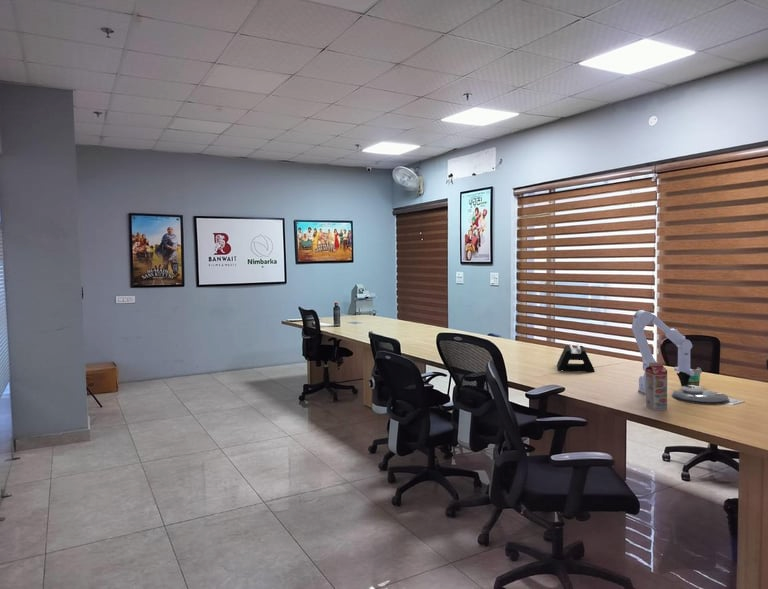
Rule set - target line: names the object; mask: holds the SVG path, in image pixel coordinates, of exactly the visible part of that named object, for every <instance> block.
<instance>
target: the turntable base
mask: <svg viewBox="0 0 768 589" xmlns="http://www.w3.org/2000/svg"><path fill="white" fill-rule="evenodd" d="M671 397H672V398H673V399H675V400H677V401H680V402H683V403H684V402H685V403H688V404H690V403H691V404H696V405H708V406H709V405H725V404H728V403H729V402H730V398H728V401H726V402H720V403H702V402H693V401H687V400H682V399H679V398H676V397H674V396H673V393H671Z"/></svg>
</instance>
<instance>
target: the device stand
mask: <svg viewBox="0 0 768 589" xmlns="http://www.w3.org/2000/svg"><path fill="white" fill-rule="evenodd" d="M570 361H582V362H583V363H571V362H570ZM558 370H563V371H562V372H573V371H586V372H585V373H595V372H596V371H595V367H594V366H593V363H592V362H591V360H590V358H589V355H588V354H587V352H586V350H585V347H584V346H583V345H580V344H578V343H576V347H573V345H572V343H569V345H565V346H564V348H563V350H562V352H561V354H560V356H559V359H558V361H557V371H558Z"/></svg>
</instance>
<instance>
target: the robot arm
mask: <svg viewBox="0 0 768 589" xmlns="http://www.w3.org/2000/svg"><path fill="white" fill-rule="evenodd" d="M632 318H633V319H632V325H631V330H632V333H633V337H634V339H635V342H636V344H637V347H638V349H639V350H638V351H639V352H640V355H641V359H642V360H641V362H642V370H643V372H644V374H643V375H640V376H639V378H638V390H637V391H638V392H641V393H643V394H645V395H646V368H647V367H649V363H655V362H657V360H655V358H654V356H653V353H652V350H651V348H650V345H649V343H648V340H647V336H646V334H645V331H644V330H645V328H646V327H647V325H649V324H653V325H655V326H656V327H657V328H658V329H660V330H661V331H662V332H663V333H665V337H666V338H667V339H668V340H670V342H672V343H673V344H674V345H675V346H676V347H677V366H674V367H673V370H674V371H676V375H677V377H678V380H679V383H680V386H681V387H682V388H683V386H684V385H687V384H688V381H689V379H690V377H691V376H694V372H693V371H692V369H693V368H691V349H692V348H693V344H692V342H691V340H690V339H686V336H685V335H683V334H681V333H680V332H679V330H678V329H675V328H671V327H669V326H668V325H667V324H665V323H664V321H662V320H661V319H660V318H659V317H658V316H656V315H655V314H653V313H652V312H651V311H648V310H644V309H640V310H637V311H636V312H635V313H634V314H633V317H632Z"/></svg>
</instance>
